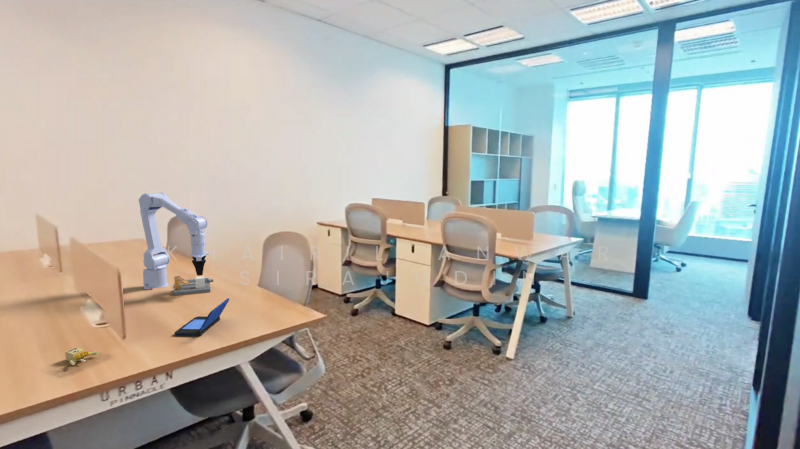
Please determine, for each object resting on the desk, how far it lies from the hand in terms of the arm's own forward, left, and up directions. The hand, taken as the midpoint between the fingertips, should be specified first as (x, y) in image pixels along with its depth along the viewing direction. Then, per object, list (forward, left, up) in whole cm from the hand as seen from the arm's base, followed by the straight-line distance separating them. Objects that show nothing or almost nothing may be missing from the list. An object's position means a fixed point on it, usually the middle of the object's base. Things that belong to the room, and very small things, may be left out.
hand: (199, 273), depth 186 cm
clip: (-7, -5, -6) cm, 11 cm away
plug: (+2, 0, -8) cm, 8 cm away
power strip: (-3, 0, -9) cm, 9 cm away
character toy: (-32, -61, -9) cm, 70 cm away
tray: (-3, +12, -9) cm, 15 cm away
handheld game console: (+1, -46, -9) cm, 47 cm away
